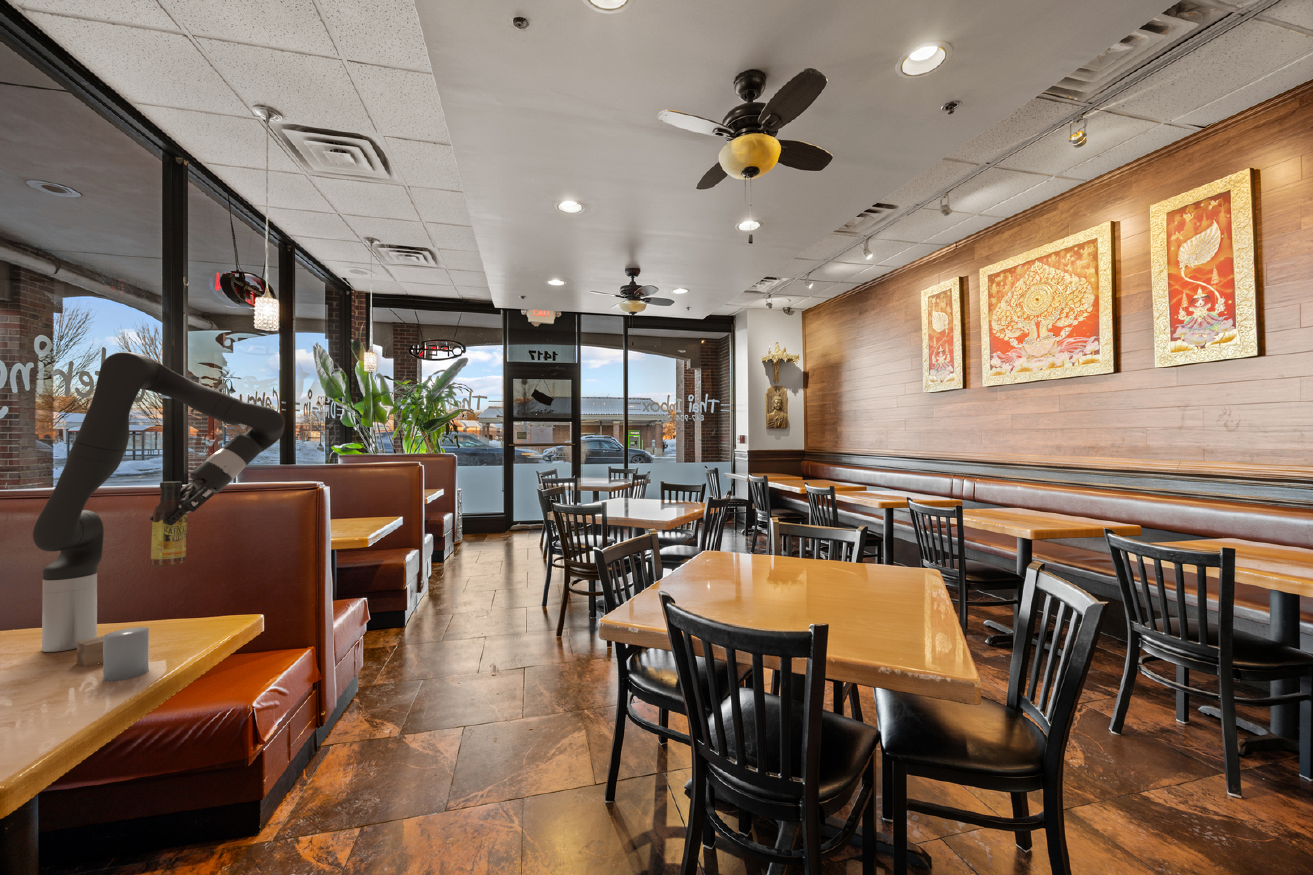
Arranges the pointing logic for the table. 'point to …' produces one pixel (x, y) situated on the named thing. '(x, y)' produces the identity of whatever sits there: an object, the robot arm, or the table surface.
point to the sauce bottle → (168, 528)
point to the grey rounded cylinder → (125, 654)
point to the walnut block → (90, 651)
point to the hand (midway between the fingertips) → (160, 522)
